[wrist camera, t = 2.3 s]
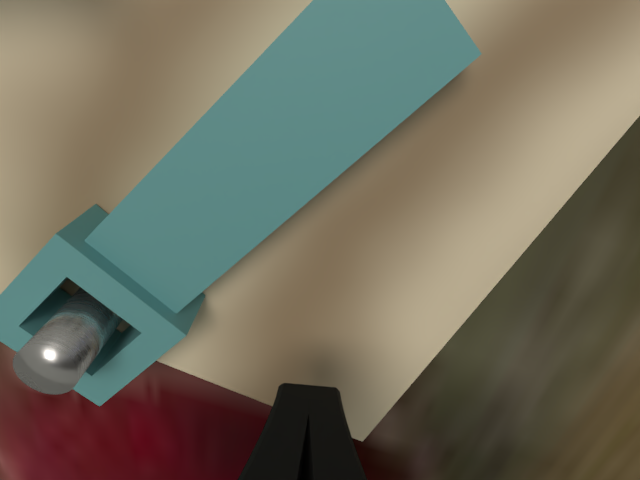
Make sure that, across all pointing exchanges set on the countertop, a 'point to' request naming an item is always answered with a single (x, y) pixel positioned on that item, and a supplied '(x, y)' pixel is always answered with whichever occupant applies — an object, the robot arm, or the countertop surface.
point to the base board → (337, 197)
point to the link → (239, 175)
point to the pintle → (66, 344)
